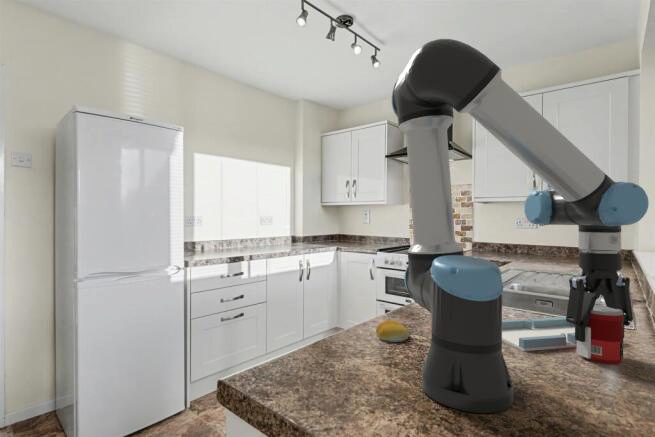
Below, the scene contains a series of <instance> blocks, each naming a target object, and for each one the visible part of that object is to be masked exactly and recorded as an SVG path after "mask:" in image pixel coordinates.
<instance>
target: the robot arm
mask: <svg viewBox="0 0 655 437" xmlns="http://www.w3.org/2000/svg"><path fill="white" fill-rule="evenodd" d="M392 88H393V89H392V94H391V108H392V110H393V113H394V115H395V116H396V117H397V123H398V129H399V130H400V131H401V132H402V133H403V134H405V137H406V150H407V164H408V177H409V178H408V180H409V194H410V205H411V206H410V207H411V208H410V209H411V219H412V220H411V221H412V234H413V244H412V245H411V246H410V247H409V248H408V249H407V260H408V261H407V262H408V265H407V266H406V269H405V271H404V275H403V276H404V277H403V278H404V280H403V281H404V286H405V288H406V290H407V293H408V294H409V297H411V299H412V300H413V301H414V302H415V303H417V305H419V306H420V307H421V308H423V309H425V310H427V312H429V313H430V314H431V343H430V346H429V350H428V353H427V356H426V358H425V362H424V364H423V367H422V370H421V388H422V390H423V391H424V393H425V394H426V395H427V396H428V397H429V398H431V399H433V400H434V401H436V402H437V403H439V404H442V405H443V406H446V407H449V408H452V409H455V410H459V411H462V412H463V411H464V412H467V413H468V412H469V413H477V414H491V413H492V414H494V413H499V412H502V411H505V410H507V409H509V408H511V406H512V405H513V403H514V394H515V393H514V384H513V382H512V379H511V376H510V375H511V374H510V373H509V370H508V366H507V363H506V360H505V358H504V354H503V348H502V347H503V341H502V320H503V292H504V285H503V278H502V272H501V268H500V267H499V266H498V265H497V264H496V263H494V262H492V261H490V260H488V259H485V258H480V257H475V256H471V255H470V256H469V255H464V248H463V247H462V246H461V245H460V244H459V243H458V242H457V241H456V238H455V226H454V225H455V224H454V221H455V220H454V211H453V209H454V208H453V197H452V196H453V194H452V182H451V181H452V180H451V169H450V154H449V141H448V129H449V128H450V127H451V125H452V124H454V120H455V118H454V117H455V116H454V110H455V111H456V112H457V113H458V114H466V113H467V114H469V115H470V116H471V117H472V118H473V119H474V120H475V121H476V122H478V123H479V125H481V126H482V127H483V128H484V129H485V130H487V131H488V133H490V134H491V135H492V136H493V138H495V139H497V140H498V141H499V143H501V144H502V145H503V146H504V147H505V148H507V149H508V150H509V151H510V152H511V153H512V154H513V155H515V157H517V158H518V159H519V160H520V161H521V162H522V163H523V164H524V165H526V166H527V167H528V168H529V169H530V170H531V171H532V172H533V173H535V174H536V175H537V176H538V177H539V178H540V179H541V180H542V181H543V182H544V183H546V184H547V185H548V186H549V187H550V188H551V189H552V190H548V189H546V190H545V189H544V190H536V191H535V190H534V191H532V192H531V193H529V194H528V195H527V197H526V199H525V201H524V209H523V210H524V211H523V212H524V215H525V218H526V219H527V220H528V222H530V223H531V224H533V225H541V226H542V225H543V226H550V225H551V226H552V225H553V226H554V225H555V226H556V225H557V226H558V225H559V226H578V249H579V250H581V251H580V252H578V267H579V268H580V269H581V271H582V272H581V274H580V277H569V278H568V282H569V296H568V303H567V310H566V316H565V317H566V321H567V322H569V323H572V324H574V325H575V339H576V340H577V347H576V354H577V355H579V356H580V355H581V356H580V357H582V356H583V357H586V358H591V328H589V327H587V325H588V322H589V319H590V316H591V310H593V308H594V305H596V302H597V300H598V299H600V297H601V296H602V298H603V300H604V303H605V306H607V307H610V308H614V309H620V310H622V311H623V340H624V338H625V326H627V327H629V326H631V322H633V321H634V315H633V307H632V301H631V300H632V299H631V294H630V293H631V292H630V285H631V284H630V283H631V278H630V277H627V276H621V275H619V274H618V271H621V270H622V264H623V263H622V262H623V261H622V259H623V258H622V256H623V255H621V253H619V252H620V251H622V226H631V225H634V224H636V223H638V222H639V221H641V220H642V219H643V218H644V216H646V214H647V212H648V209H649V202H650V201H649V197H648V194H647V193H646V191H645V189H644V188H643V187H642V186H640V185H639V184H636V183H635V182H634V183H633V182H628V181H625V182H624V181H614V180H613V179H612V178H611V177H610V176H609V175H608V174H606V173H605V171H604V170H602V169H601V168H600V167H599V166H597V164H595V163H594V162H593V161H592V160H591V159H590V158H589V157H588V156H587V155H586V154H584V153H583V152H582V151H581V150H580V149H579V148H578V147H577V146H576V145H574V144H573V143H572V142H571V141H570V140H569V139H568V138H567V137H566V136H565V135H564V134H562V132H560V130H558V129H557V128H556V127H555V126H554V125H553V124H552V123H550V121H548V119H546V118H545V117H544V116H543V115H542V114H541V113H540V112H538V110H536V109H535V108H534V107H533V106H532V105H531V104H530V103H529V102H528V101H527V100H525V99H524V98H523V96H521V95H520V94H519V93H518V92H516V91H515V90H514V88H512V87H511V86H510V85H509V84H508V83H507V82H506V81H505V80H504V79H502V68H500V67H499V66H498V65H497V64H496V63H495V62H494V61H493V60H491V59H490V58H489V57H488V56H487V55H486V54H484V53H483V52H481V51H480V50H478V49H477V48H475V47H474V46H471V45H470V44H468V43H465V42H462V41H460V40H457V39H450V38H438V39H434V40H430V41H428V42H427V43H424V44H423V45H422V46H420V47H419V48H418V49H417V50H416V51H415V52H414V54H413V55H412V56H411V58H410V59H409V62H408V63H407V65H406V66H405V68H404V69H403V70H402V72H401V74H400V75H399V76H398V78H397V79H396V81H395V84H394V86H393V87H392ZM581 319H582V321H581ZM583 357H582V358H583Z"/></svg>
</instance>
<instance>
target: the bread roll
mask: <svg viewBox="0 0 655 437" xmlns="http://www.w3.org/2000/svg"><path fill="white" fill-rule="evenodd" d="M375 333H376V335H377V336H378V339H380V340H381V341H385V342H391V343H392V342H393V343H400V342H403V341H406V340H408V338H409V335H410V332H409V330H408V329H407V327H405V326H404V325H403V323H401V322H400V321H396V320H393V319H386V320H384V321H382V322H379V324H378V325H377V326H376V328H375Z"/></svg>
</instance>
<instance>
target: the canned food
mask: <svg viewBox="0 0 655 437" xmlns="http://www.w3.org/2000/svg"><path fill="white" fill-rule="evenodd" d="M581 321H582V319H581ZM587 327H589V328H591V358H586V357H583V356H581V355H579V356H580V357H582V358H584V359H585V360H588V361H592V362H595V363H600V364H606V365H620V364H621V363H623V360H624V339H623V311H622V310H620V309H614V308H610V307H607V306H606V305H603V304H595V305H594V308H593V310H591V316H590V319H589V322H588V325H587Z"/></svg>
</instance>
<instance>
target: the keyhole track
mask: <svg viewBox="0 0 655 437" xmlns="http://www.w3.org/2000/svg"><path fill="white" fill-rule="evenodd" d="M502 342H504V343H505V344H506V343H507V344H508V345H511V347H514V348H516V349H518V350H520V351H523V352H531V351H532V352H533V351H541V350H542V351H544V350H555V349H568V348H569V349H570V348H577V340H576V339H575V325H574V324H572V323H569V322H567V321H566V316H553V317H541V318H540V317H537V318H528V319H527V320H526V319H525V320H522V319H505V320H503V319H502Z"/></svg>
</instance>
